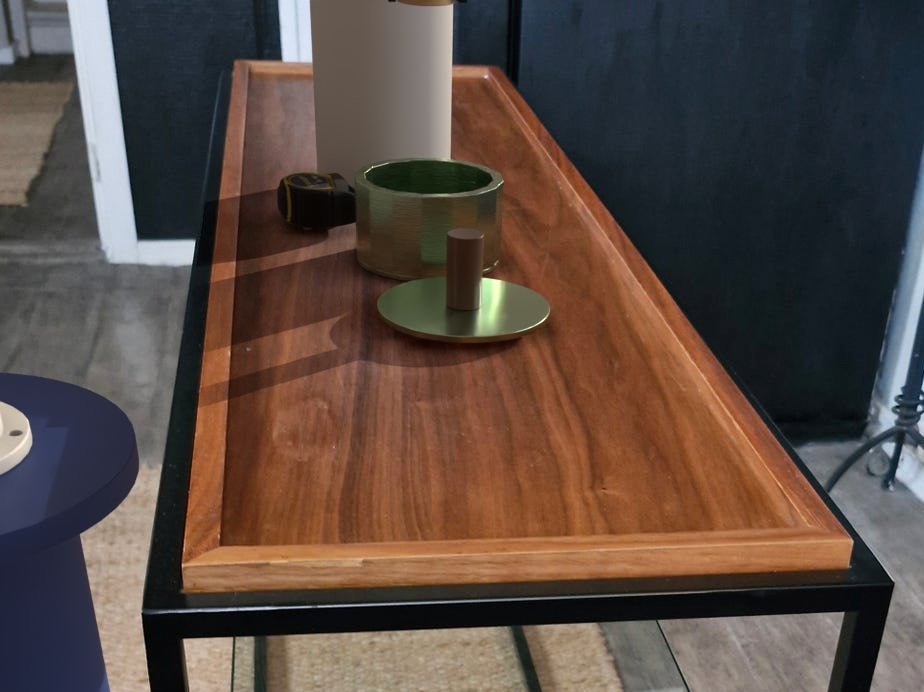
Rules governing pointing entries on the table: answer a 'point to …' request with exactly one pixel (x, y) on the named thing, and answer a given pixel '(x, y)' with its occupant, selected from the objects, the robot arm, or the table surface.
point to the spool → (427, 2)
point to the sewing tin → (424, 214)
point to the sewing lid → (463, 300)
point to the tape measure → (316, 200)
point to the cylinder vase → (380, 82)
